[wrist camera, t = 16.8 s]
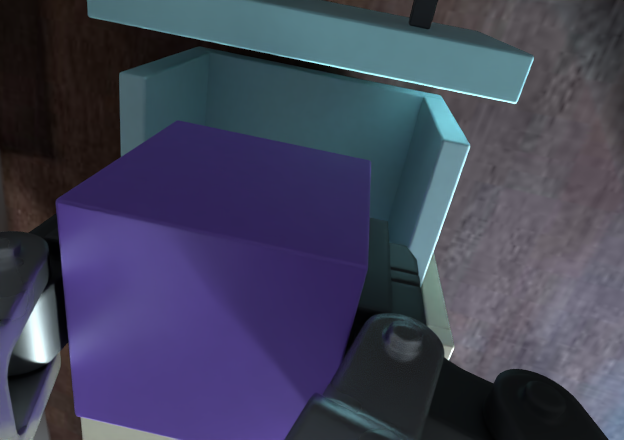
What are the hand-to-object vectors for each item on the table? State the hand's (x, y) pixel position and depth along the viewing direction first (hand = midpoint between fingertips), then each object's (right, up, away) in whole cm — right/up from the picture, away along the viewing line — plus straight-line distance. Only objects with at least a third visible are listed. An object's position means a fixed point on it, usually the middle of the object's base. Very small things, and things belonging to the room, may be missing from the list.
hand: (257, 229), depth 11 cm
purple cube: (0, 0, 0) cm, 0 cm away
